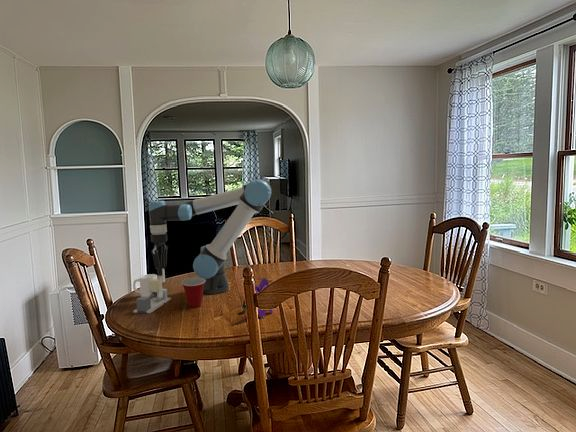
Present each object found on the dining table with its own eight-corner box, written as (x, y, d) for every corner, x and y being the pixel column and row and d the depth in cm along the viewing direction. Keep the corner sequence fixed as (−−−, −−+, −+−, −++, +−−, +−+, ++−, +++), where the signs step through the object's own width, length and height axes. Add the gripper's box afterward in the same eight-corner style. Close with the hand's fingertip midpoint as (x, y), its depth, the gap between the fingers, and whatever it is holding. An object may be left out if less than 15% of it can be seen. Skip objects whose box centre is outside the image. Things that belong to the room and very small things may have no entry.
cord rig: (155, 298, 210) (154, 286, 209) (170, 299, 209) (169, 287, 208) (133, 312, 190) (132, 299, 190) (150, 313, 189) (149, 299, 188)
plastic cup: (180, 310, 191) (179, 283, 190) (184, 303, 202) (183, 277, 201) (205, 309, 192) (204, 282, 191) (208, 301, 203) (206, 276, 201)
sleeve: (154, 297, 205) (153, 278, 205) (163, 297, 205) (162, 279, 204) (150, 299, 202) (148, 281, 201) (159, 299, 201) (158, 281, 200)
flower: (239, 329, 180) (262, 318, 173) (224, 296, 183) (246, 284, 176) (259, 318, 193) (281, 308, 186) (246, 287, 195) (267, 276, 188)
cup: (155, 298, 211) (154, 278, 210) (130, 299, 211) (129, 278, 210) (160, 293, 219) (159, 273, 218) (136, 294, 219) (135, 274, 218)
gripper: (158, 231, 213) (160, 278, 216) (144, 235, 200) (147, 285, 203) (172, 231, 212) (175, 278, 214) (159, 235, 199) (162, 285, 202)
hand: (161, 281), depth 209 cm, fingers closed
